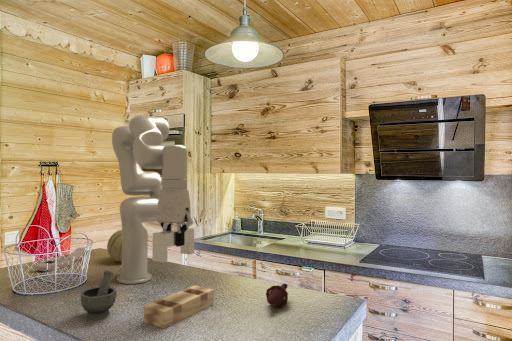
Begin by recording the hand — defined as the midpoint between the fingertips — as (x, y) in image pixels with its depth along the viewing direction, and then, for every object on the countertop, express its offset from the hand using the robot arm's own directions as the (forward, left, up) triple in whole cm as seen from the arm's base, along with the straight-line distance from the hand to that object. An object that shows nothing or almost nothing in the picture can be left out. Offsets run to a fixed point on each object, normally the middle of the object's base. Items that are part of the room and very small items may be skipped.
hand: (174, 244), depth 114 cm
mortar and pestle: (-16, -14, -20) cm, 29 cm away
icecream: (+26, +20, -20) cm, 38 cm away
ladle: (-75, +11, -20) cm, 78 cm away
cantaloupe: (-59, +31, -20) cm, 69 cm away
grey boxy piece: (0, 0, -4) cm, 4 cm away
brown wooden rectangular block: (+3, 0, -20) cm, 20 cm away
